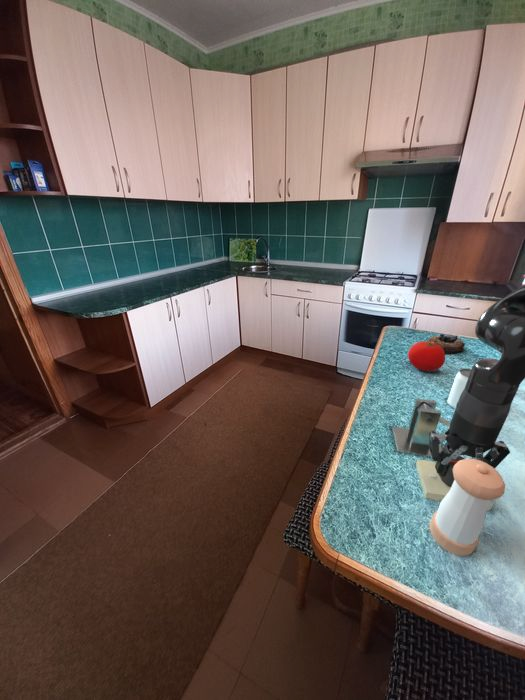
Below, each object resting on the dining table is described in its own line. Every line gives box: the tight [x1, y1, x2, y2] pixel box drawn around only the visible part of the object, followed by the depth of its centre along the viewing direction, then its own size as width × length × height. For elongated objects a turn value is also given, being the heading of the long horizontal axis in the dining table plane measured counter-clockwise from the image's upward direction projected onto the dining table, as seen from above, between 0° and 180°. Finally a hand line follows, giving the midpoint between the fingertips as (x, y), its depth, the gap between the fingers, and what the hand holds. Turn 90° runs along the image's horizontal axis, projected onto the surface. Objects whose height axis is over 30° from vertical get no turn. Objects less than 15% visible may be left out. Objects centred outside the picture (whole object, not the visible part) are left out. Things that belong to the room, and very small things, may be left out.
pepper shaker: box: [429, 458, 506, 557], centre depth 50 cm, size 7×7×19 cm
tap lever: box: [417, 403, 451, 429], centre depth 71 cm, size 13×3×3 cm, turn 77°
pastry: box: [427, 333, 466, 355], centre depth 123 cm, size 11×12×6 cm
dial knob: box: [440, 455, 466, 487], centre depth 61 cm, size 5×5×5 cm
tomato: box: [407, 340, 446, 372], centre depth 108 cm, size 11×12×10 cm
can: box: [446, 368, 472, 409], centre depth 87 cm, size 6×6×12 cm
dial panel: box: [415, 458, 494, 512], centre depth 63 cm, size 12×9×3 cm
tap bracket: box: [392, 398, 443, 458], centre depth 73 cm, size 11×9×13 cm
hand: (454, 475), depth 62 cm, fingers closed on dial knob, 5 cm apart
